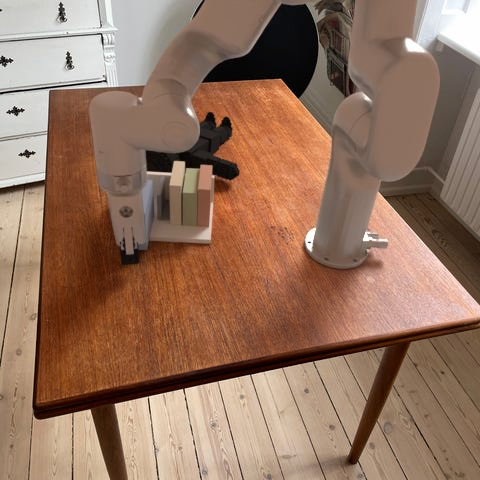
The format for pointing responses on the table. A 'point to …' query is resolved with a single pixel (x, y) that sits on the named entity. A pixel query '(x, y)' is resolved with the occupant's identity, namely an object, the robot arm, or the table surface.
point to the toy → (199, 151)
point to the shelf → (175, 230)
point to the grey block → (147, 212)
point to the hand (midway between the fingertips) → (130, 261)
